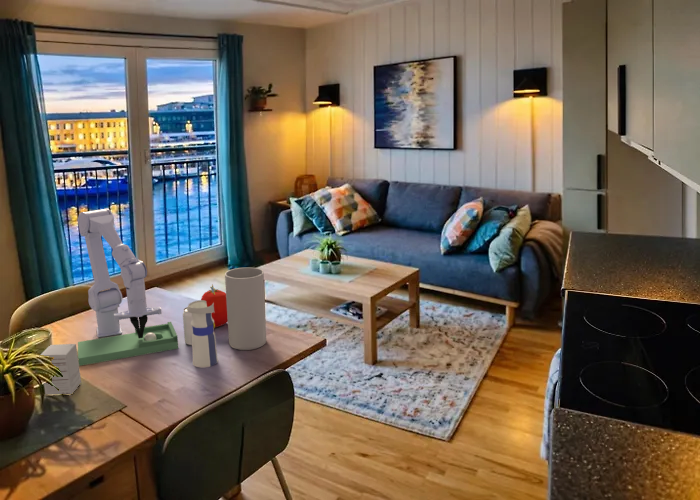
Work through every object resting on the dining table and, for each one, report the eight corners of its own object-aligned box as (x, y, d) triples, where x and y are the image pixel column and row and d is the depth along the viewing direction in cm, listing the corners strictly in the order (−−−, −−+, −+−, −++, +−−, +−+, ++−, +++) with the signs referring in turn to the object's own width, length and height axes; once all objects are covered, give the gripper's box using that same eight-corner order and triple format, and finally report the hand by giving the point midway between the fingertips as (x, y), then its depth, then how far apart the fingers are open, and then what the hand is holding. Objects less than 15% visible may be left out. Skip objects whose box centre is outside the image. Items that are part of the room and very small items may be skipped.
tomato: (219, 317, 215) (217, 282, 211) (240, 324, 208) (238, 287, 205) (193, 328, 205) (190, 291, 201) (214, 335, 198) (211, 297, 195)
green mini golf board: (78, 348, 187) (77, 336, 186) (172, 333, 200) (171, 321, 199) (79, 365, 175) (77, 352, 174) (178, 348, 188) (177, 335, 186)
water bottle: (204, 354, 183) (199, 280, 177) (224, 359, 179) (219, 284, 173) (185, 363, 176) (179, 287, 170) (205, 369, 172) (200, 292, 166)
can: (200, 346, 189) (197, 312, 186) (181, 345, 190) (178, 311, 187) (207, 338, 195) (205, 305, 192) (189, 337, 196) (187, 305, 193)
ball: (143, 335, 192) (151, 328, 192) (151, 343, 193) (160, 336, 193) (140, 340, 188) (148, 333, 188) (149, 348, 189) (157, 341, 189)
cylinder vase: (221, 343, 191) (217, 273, 185) (251, 333, 200) (248, 265, 194) (244, 354, 183) (240, 280, 177) (274, 342, 192) (271, 272, 185)
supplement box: (55, 384, 164) (49, 344, 160) (82, 383, 164) (76, 343, 161) (44, 397, 156) (38, 355, 153) (72, 395, 157) (66, 354, 154)
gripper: (113, 305, 178) (118, 345, 182) (161, 298, 184) (164, 337, 188) (112, 298, 185) (116, 337, 188) (158, 292, 191) (161, 330, 194)
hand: (140, 337), depth 188 cm, fingers closed
